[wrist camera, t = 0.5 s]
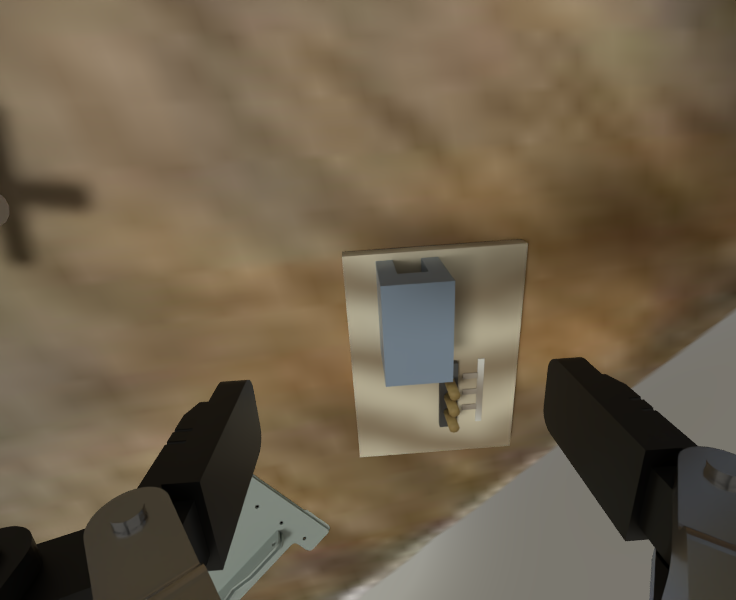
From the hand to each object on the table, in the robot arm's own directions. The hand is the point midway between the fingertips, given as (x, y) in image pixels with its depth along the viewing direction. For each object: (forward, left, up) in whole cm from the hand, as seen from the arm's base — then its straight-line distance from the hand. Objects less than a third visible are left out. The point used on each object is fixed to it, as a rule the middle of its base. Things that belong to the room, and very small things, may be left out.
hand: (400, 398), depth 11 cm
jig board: (+10, +4, -19) cm, 22 cm away
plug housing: (+5, +2, -18) cm, 19 cm away
